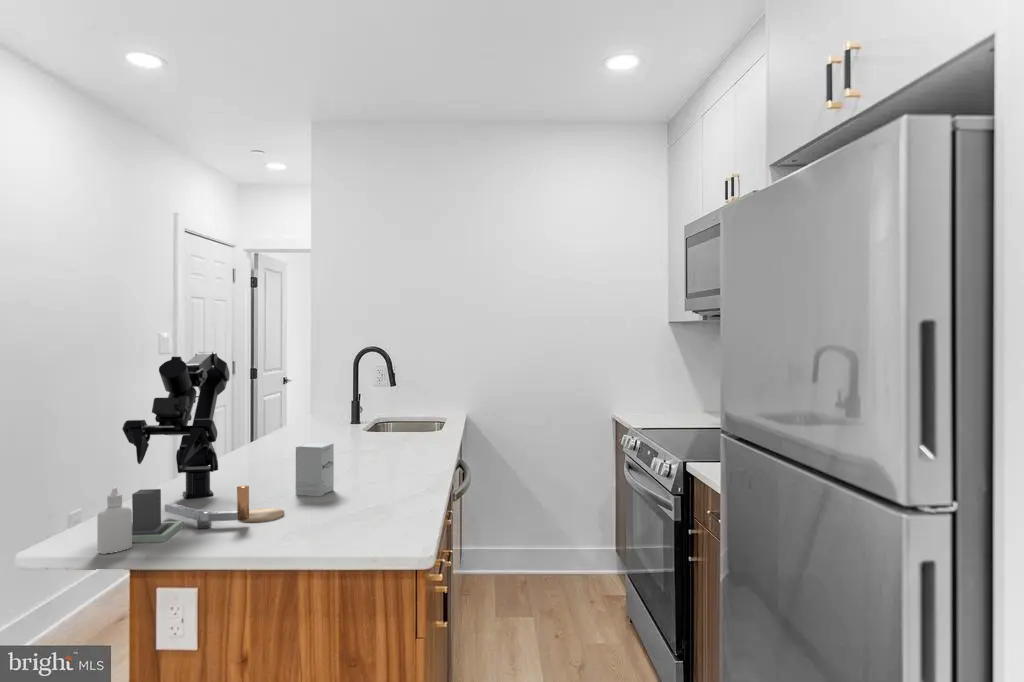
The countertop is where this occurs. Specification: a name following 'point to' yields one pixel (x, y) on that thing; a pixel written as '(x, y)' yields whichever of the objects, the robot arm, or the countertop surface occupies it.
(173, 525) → the socket frame
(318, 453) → the supplement box
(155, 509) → the plug
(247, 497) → the grey rod with hub
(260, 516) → the coaster
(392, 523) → the countertop surface
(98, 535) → the eye dropper bottle
